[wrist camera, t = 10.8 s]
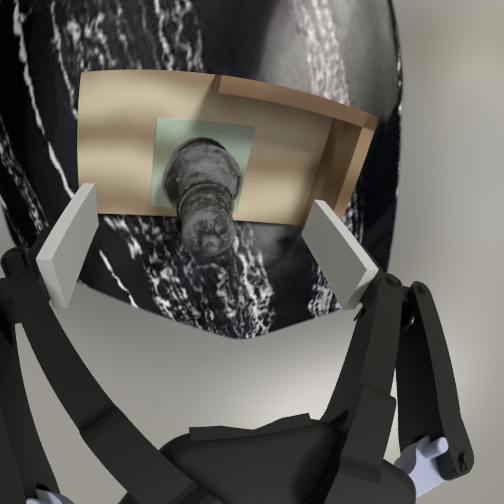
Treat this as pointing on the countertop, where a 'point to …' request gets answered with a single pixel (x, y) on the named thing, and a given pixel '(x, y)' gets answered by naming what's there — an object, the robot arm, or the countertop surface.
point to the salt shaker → (203, 194)
